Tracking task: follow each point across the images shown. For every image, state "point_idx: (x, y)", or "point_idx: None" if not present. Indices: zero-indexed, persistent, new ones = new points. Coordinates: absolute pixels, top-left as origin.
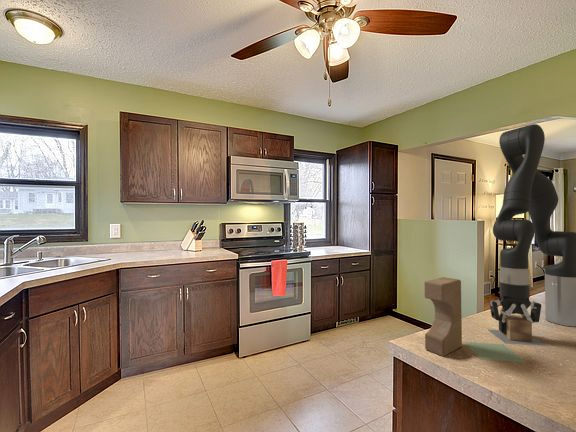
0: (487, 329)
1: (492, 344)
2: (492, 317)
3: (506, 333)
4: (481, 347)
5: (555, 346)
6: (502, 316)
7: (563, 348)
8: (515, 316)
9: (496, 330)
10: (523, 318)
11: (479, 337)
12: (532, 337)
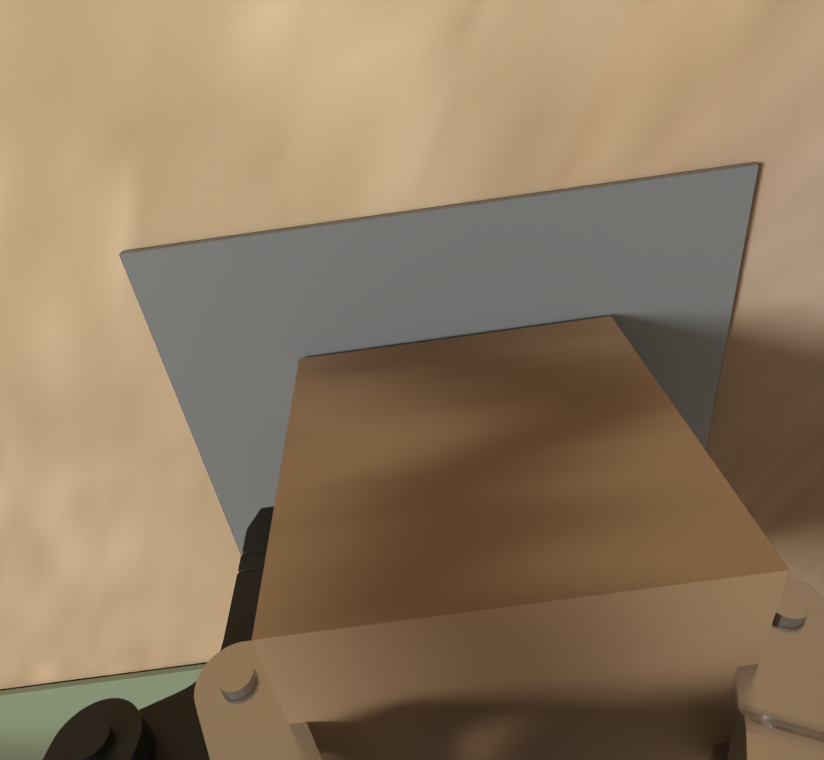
0: (124, 255)
1: (139, 688)
2: (82, 712)
3: None
4: (37, 757)
5: (777, 550)
6: (283, 749)
7: (817, 571)
8: (605, 663)
9: (276, 258)
10: (698, 721)
11: (9, 563)
12: (706, 396)
